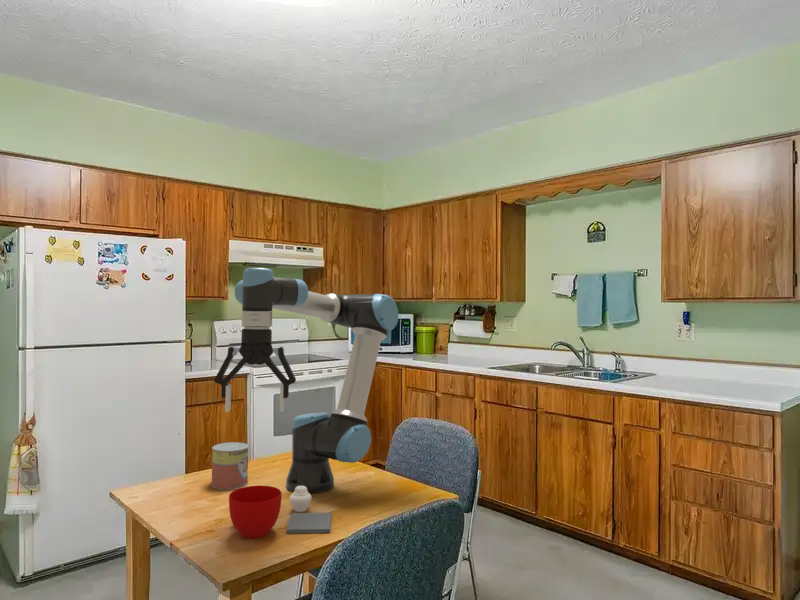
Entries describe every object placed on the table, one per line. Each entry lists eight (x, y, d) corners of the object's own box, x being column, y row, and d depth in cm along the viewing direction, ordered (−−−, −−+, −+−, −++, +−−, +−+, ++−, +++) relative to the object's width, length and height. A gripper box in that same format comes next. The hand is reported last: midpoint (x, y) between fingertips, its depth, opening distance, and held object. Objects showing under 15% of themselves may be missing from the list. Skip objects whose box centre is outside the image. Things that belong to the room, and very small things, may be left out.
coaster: (291, 516, 149) (291, 513, 149) (331, 516, 150) (331, 512, 150) (286, 533, 138) (286, 529, 138) (329, 532, 139) (329, 528, 139)
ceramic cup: (255, 515, 150) (255, 478, 150) (290, 533, 138) (291, 494, 139) (210, 528, 141) (211, 489, 141) (245, 549, 129) (246, 506, 129)
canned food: (237, 490, 170) (238, 452, 170) (204, 488, 172) (205, 449, 172) (253, 479, 181) (254, 443, 181) (222, 477, 183) (223, 441, 183)
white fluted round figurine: (285, 509, 155) (285, 484, 155) (303, 504, 159) (303, 480, 159) (297, 516, 150) (297, 490, 150) (315, 510, 154) (316, 485, 154)
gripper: (203, 327, 135) (201, 413, 135) (304, 329, 138) (302, 413, 137) (210, 326, 143) (209, 407, 143) (307, 328, 145) (305, 408, 145)
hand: (255, 410), depth 140 cm, fingers open, 13 cm apart
